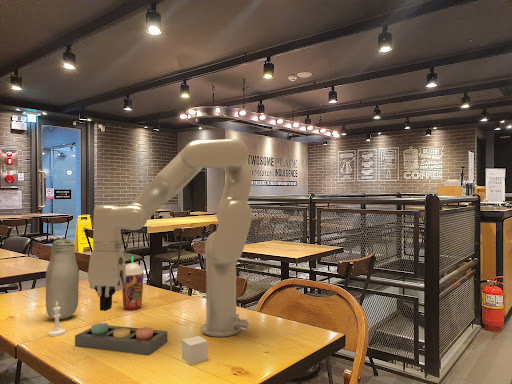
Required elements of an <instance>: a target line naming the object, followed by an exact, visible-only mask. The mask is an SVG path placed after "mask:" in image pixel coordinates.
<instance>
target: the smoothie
mask: <svg viewBox="0 0 512 384" xmlns="http://www.w3.org/2000/svg"><path fill="white" fill-rule="evenodd" d="M125 269H126V282H125V283H124V284H123V289H122V290H121V293H122V304H123V306H122V307H124V309H125V310H126V311H136V310H138V309H141V305H143V293H144V291H143V289H144V275H145V274H144V273H145V272H144V270H143V268H142V267H141V266H140V264H138V263H135V262H134V255H132V256H131V263H128V264H127V265H126V264H125Z"/></svg>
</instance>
